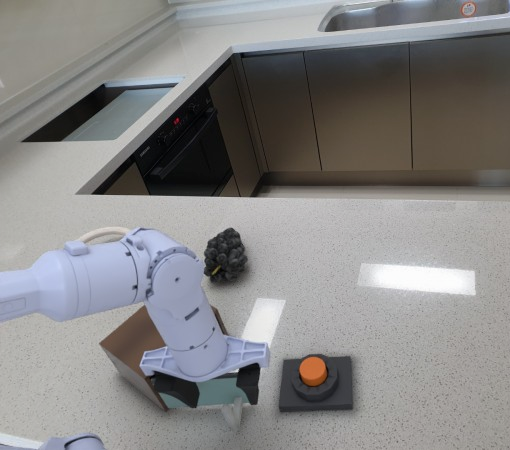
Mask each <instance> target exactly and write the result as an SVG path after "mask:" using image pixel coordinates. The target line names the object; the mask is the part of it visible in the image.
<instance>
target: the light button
mask: <svg viewBox="0 0 510 450" xmlns="http://www.w3.org/2000/svg"><path fill="white" fill-rule="evenodd" d="M300 374H301V377H302V380H303V382H304V383H305V384H306V385H308V386H318V385H320V384H322V383H323V382H324V381H325V379H326V377H327V371H326V366H325V363H324V362H323V360H321V359H320V358H318V357H310V358H307V359H305V360H304V361H303V362H302V363H301V365H300Z"/></svg>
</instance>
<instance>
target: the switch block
mask: <svg viewBox="0 0 510 450" xmlns="http://www.w3.org/2000/svg"><path fill="white" fill-rule="evenodd" d="M310 357H318V358H320V359H321V360H323V362H324V363H325V366H326V371H327V377H326V379H325V381H324V382H323V383H322V384H320V385H318V386H308V385H306V384H305V383H304V382H303V380H302V377H301V374H300V365H301V363H302V362H303V361H304V360H305V359H307V358H310ZM282 363H283V364H282V373H281V380H280V391H279V401H278V409H279V411H280V412H306V411H308V412H309V411H310V412H311V411H332V410H333V411H335V410H353V409H354V405H353V404H354V403H353V368H352V363H353V362H352V356H351V355H344V356H327V355H325V354H323V353H309V354H307V355H305V356H303V357H301V358H289V359H288V358H287V359H286V358H285V359H283V362H282Z"/></svg>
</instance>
